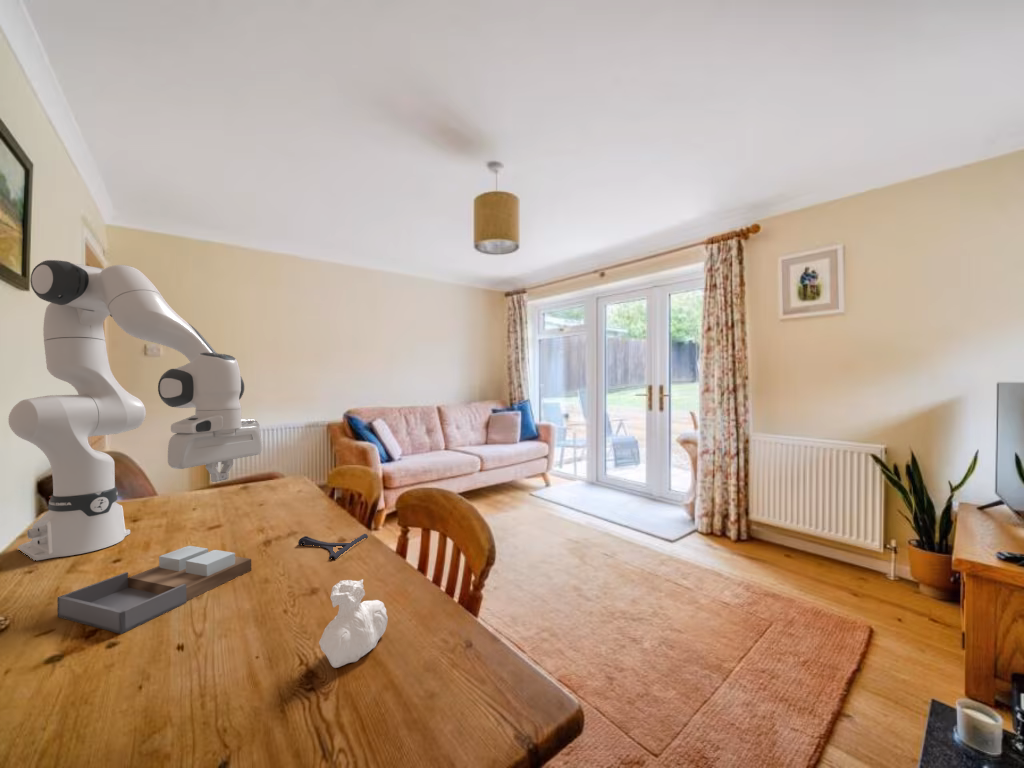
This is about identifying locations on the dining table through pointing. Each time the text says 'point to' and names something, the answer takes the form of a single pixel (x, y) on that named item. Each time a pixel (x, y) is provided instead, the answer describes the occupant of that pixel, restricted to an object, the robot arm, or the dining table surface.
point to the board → (186, 579)
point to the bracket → (331, 545)
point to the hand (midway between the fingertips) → (220, 480)
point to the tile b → (210, 562)
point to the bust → (352, 624)
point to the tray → (117, 604)
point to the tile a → (180, 557)
